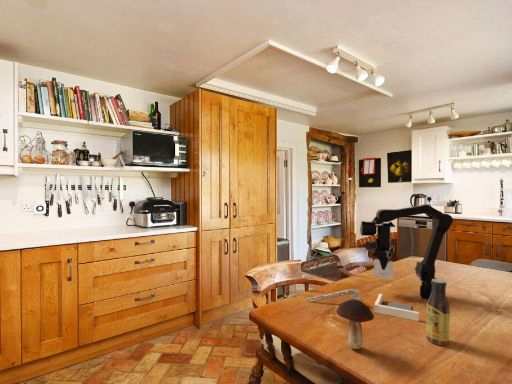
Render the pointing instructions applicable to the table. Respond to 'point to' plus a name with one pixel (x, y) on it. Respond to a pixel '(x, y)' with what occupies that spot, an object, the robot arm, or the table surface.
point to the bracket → (350, 292)
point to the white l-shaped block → (394, 311)
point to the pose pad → (399, 306)
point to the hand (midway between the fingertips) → (383, 269)
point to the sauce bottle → (438, 314)
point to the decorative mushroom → (355, 320)
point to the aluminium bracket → (383, 273)
